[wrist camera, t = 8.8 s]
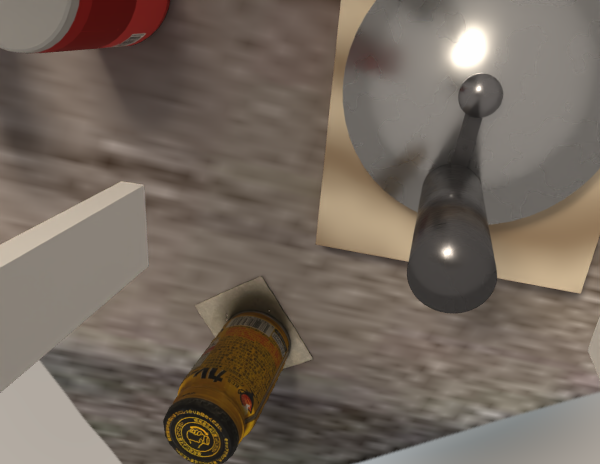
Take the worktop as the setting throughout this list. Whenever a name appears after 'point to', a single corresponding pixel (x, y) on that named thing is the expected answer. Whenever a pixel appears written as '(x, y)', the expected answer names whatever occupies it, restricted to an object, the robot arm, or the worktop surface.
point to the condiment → (232, 373)
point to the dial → (473, 123)
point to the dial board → (401, 220)
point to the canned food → (77, 24)
